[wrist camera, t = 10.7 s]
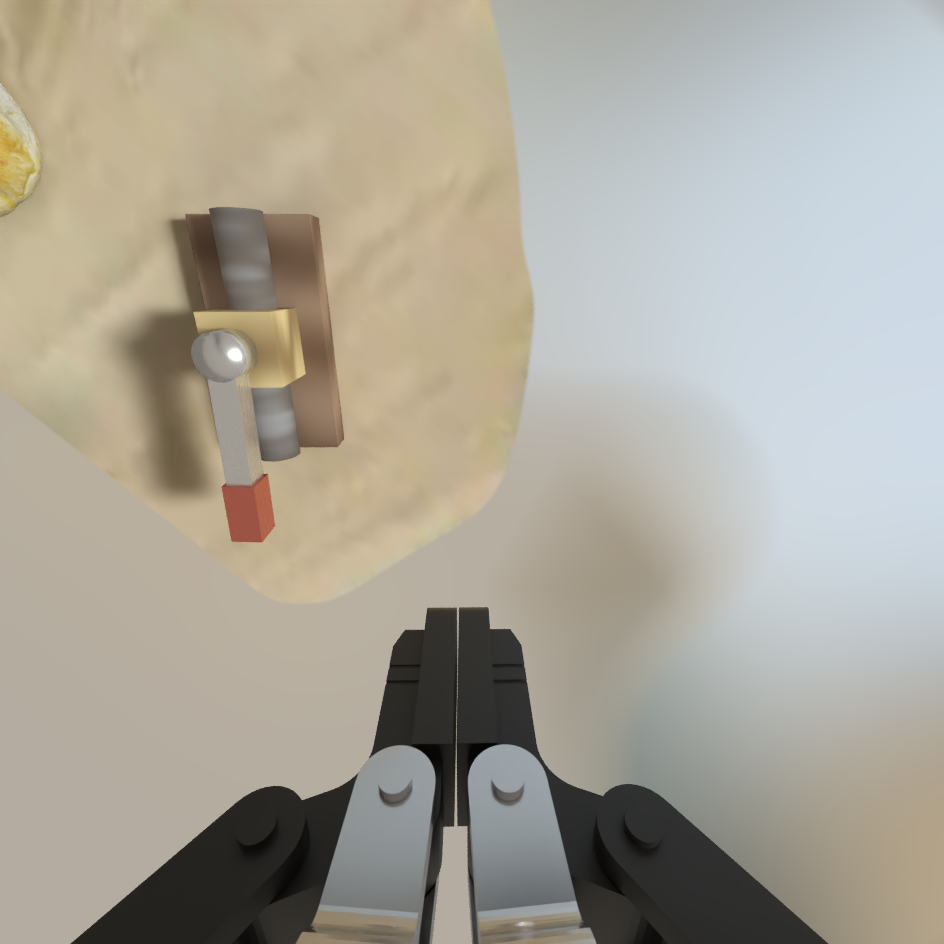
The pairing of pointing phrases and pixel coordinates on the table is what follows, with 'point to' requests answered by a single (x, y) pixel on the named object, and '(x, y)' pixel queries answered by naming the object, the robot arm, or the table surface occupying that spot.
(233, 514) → the valve lever
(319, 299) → the valve board
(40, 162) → the bread roll
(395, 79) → the table surface
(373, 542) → the table surface
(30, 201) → the table surface
